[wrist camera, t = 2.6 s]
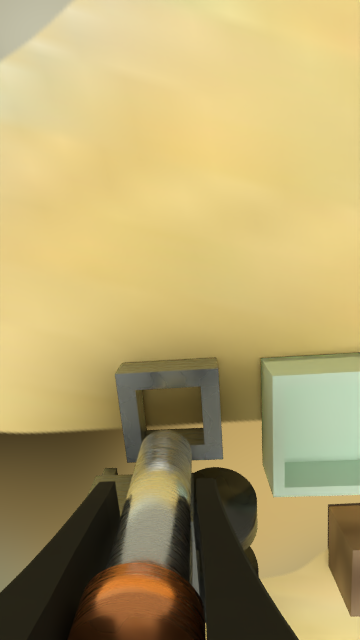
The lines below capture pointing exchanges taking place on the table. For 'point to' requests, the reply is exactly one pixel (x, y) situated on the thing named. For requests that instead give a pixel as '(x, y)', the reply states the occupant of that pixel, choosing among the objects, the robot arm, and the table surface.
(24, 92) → the table surface
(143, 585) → the pin
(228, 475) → the cart
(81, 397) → the table surface
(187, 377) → the grey square frame
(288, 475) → the tray
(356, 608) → the brown rectangular block
